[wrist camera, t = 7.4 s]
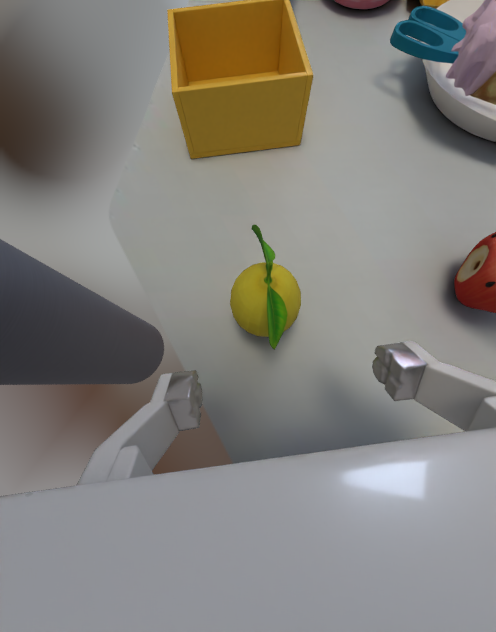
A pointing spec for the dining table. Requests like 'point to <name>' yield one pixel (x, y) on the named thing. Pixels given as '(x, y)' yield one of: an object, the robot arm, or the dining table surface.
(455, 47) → the ice cream cone
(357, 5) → the saucer
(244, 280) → the lemon
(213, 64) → the yellow bin
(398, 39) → the scissors
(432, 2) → the yellow wooden block
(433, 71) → the bowl
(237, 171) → the dining table surface
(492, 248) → the apple
